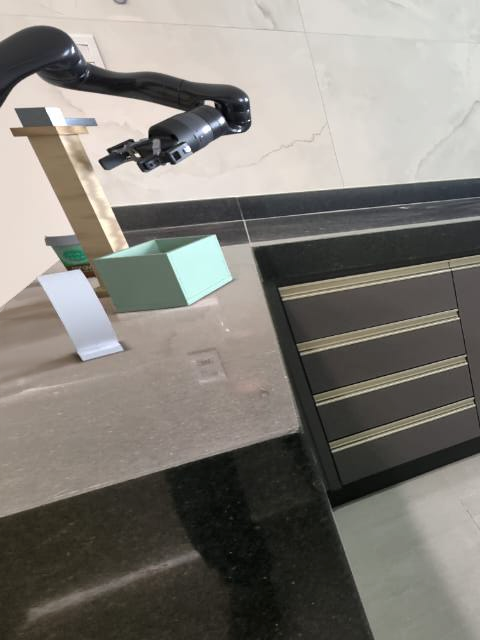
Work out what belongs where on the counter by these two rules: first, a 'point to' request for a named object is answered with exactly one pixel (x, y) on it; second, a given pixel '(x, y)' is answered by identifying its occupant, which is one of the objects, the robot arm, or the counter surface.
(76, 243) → the food container
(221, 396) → the counter surface
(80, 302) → the white curved stand
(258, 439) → the counter surface
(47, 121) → the grey and white block
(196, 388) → the counter surface
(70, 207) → the wooden stand
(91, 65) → the robot arm
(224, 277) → the bin
